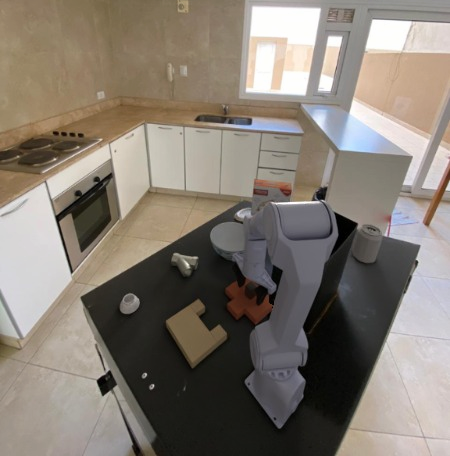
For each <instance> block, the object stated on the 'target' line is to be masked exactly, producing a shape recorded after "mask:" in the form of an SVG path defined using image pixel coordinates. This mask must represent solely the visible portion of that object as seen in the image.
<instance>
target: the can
mask: <svg viewBox="0 0 450 456" xmlns="http://www.w3.org/2000/svg"><path fill="white" fill-rule="evenodd" d="M382 232H383V231H382V230H381V229H380V228H379V227H378V226H376V225H373V224H371V223H363V224H361V226H360V227H358V228H357V232H356V236H355V239H354V242H353V247H352V250H351V253H352V255H353V256H354V257H355V259H356V260H358V261H359V262H361V263H365V264H372V263H374V262H376V260H377V257H378V255H379V251H380V247H381V245H382V241H383V239H384V235H383V233H382Z"/></svg>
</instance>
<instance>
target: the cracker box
mask: <svg viewBox="0 0 450 456" xmlns="http://www.w3.org/2000/svg"><path fill="white" fill-rule="evenodd" d="M292 192H293V188H292V183H291V182H285V181H277V180H276V181H275V180H267V179H258V178H253V189H252V197H251V207H250V216H253V215H255V213H256V212H259V211H260V208H261V207H264V206H265V204H266V203H267V202H274V203H277V202H291V198H292Z"/></svg>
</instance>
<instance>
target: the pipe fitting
mask: <svg viewBox="0 0 450 456" xmlns="http://www.w3.org/2000/svg"><path fill="white" fill-rule="evenodd" d="M170 261H171V262H170V264H171V266H172V267H173V266H174V267H177V268H178V270H179V271H180V273H181V275H182V276H183V277H184V278H188V277H189V278H190V277H191V275H192V273H193V270H194V271H196V270H197V268H198V266H199V265H198V264H199V257H198V256H189V255H185V254H180V253H178V252H174V253H173V254H172V257H171V260H170Z"/></svg>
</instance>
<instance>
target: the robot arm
mask: <svg viewBox="0 0 450 456" xmlns="http://www.w3.org/2000/svg"><path fill="white" fill-rule="evenodd" d="M242 224H243V232H244V236H245V242H244V254H243V255H241V254H239V253H238V252H236V253H235V254H233V255H232V260H231V261H232V262H234V264H233V265H232V266H231V268H230V269H231V271H232V272H233V274H234V276H235V279H236V281H237V284H238V287H239V288H240V287H242V286H243V285H244V284H245V282H246V278H247V279H249V280H251V281H253V282H254V283H255V284H257V286H258V287H257V288H255V292H256V297H257V298H256V304H257V305H258V306H259V305H261V304H262V303H263V301H264V299H265V297H266V295H272V294H274V293H275V292H276V295H275V298H274V305H273V308H272V311H271V312H270V315H269V319H268V320H266V321H264V322H262V323H260V324H257V325H255V327H254V329H252V330H251V332H250V334H249V351H250V357H251V362H252V365H253V368H254V369H253V371H252V372H251V373H250V374H249V375H248V376H247V377H246V378H245V379H244V385H245V386H246V388H247V389H248V390H249V392H250V393H251V395H253V397H254V398H255V399H256V401H257V403H258V404H259V405H260V406H261V408H262V409H263V410H264V411H265V413H266V414H267V415H268V417H269V418H270V419H271V421H272V422H273V424H274V425H275V426H276V428H277V429H282V427H283V426H284V425H285V423H286V422H287V421H288V420H289V418H290V416H291V415H292V414H293V413H294V412H295V411H296V410H297V408H298V406H299V404H300V403H301V401H302V400H303V399H304V390H305V386H306V383H307V382H306V379H305V378H304V377H303V376H302V374H301V372H300V371H299V370H298V368H299V366H300V367H305V366H306V364H307V360H308V349H309V342H308V339H307V335H306V332H305V330H304V324H305V322H306V319H307V317H308V316H309V313H310V310H311V308H312V306H313V303H314V301H315V298H316V296H317V294H318V291H319V289H320V287H321V284H322V279H323V274H324V269H325V264H326V262H328V261H329V259H330V256H331V254H332V251H333V249H334V247H335V245H336V242H337V240H338V237H339V229H338V223H337V219H336V215H335V211H334V210H333V207H331V205H330V204H329V202H328V201H326V200H324V199H317V200H313V201H312V200H311V201H310V200H309V201H308V200H307V201H306V200H305V201H290V202H277V203H274V202H267V203H266V204H265V206H264V207H261V208H260V211H259V212H256V213H255V215H253V216H251V215H248V214H244V215H243V219H242ZM267 254H268V257H269V258H270V264H271V265H273V266H275V267H276V268H278V269H280V270H282V273H281V276H280V281H279V284H278V287H277V284H276V283H275V282H274V281H273V279H272V277H271V275H269V273H268V271H267V270H266V269H265V267H266V255H267Z"/></svg>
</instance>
